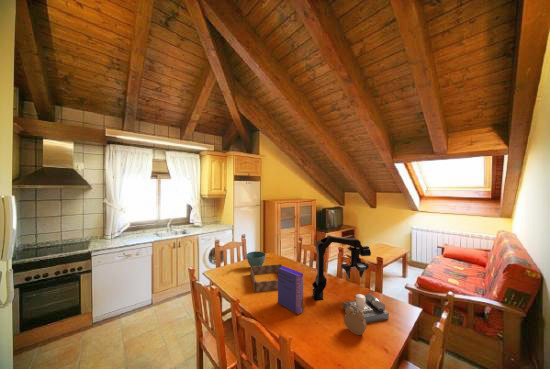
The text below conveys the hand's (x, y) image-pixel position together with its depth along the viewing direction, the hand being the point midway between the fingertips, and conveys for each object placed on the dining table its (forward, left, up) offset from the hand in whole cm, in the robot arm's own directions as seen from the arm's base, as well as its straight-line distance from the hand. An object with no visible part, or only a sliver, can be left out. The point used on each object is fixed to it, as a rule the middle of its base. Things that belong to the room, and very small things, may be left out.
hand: (355, 278), depth 147 cm
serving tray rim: (-55, +36, -13) cm, 67 cm away
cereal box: (-49, -2, -13) cm, 51 cm away
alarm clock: (-22, -32, -13) cm, 41 cm away
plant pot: (-62, +66, -13) cm, 92 cm away
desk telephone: (-6, -19, -13) cm, 24 cm away
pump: (-9, -19, -9) cm, 23 cm away
